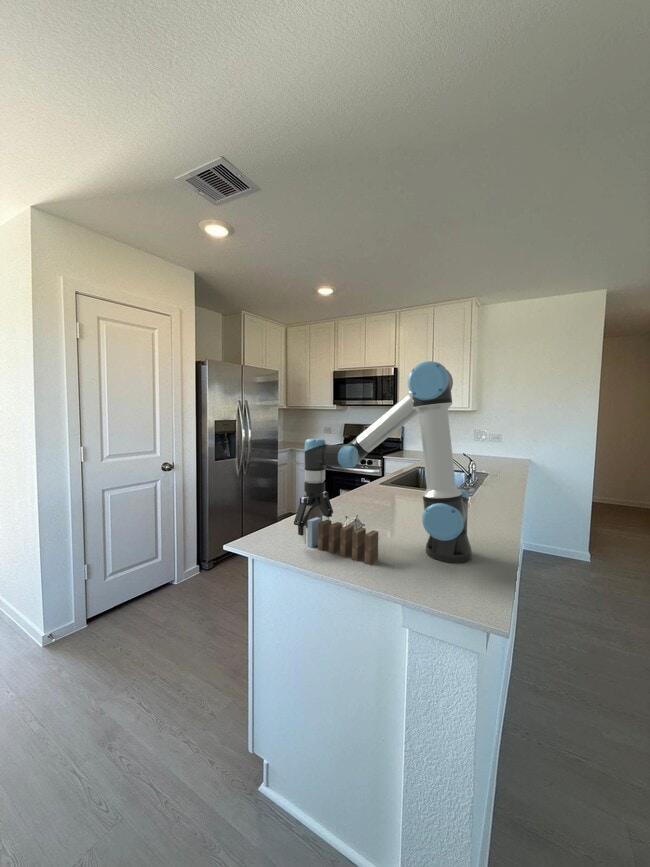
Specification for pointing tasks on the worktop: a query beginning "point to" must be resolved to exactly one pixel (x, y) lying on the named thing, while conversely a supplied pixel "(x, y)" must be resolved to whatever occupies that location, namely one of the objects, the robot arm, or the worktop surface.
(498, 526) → the worktop surface
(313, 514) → the pillar candle
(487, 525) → the worktop surface
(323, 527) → the domino
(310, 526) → the domino
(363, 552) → the domino
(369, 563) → the domino
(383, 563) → the worktop surface
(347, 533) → the domino
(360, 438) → the robot arm
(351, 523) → the game die
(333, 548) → the domino
